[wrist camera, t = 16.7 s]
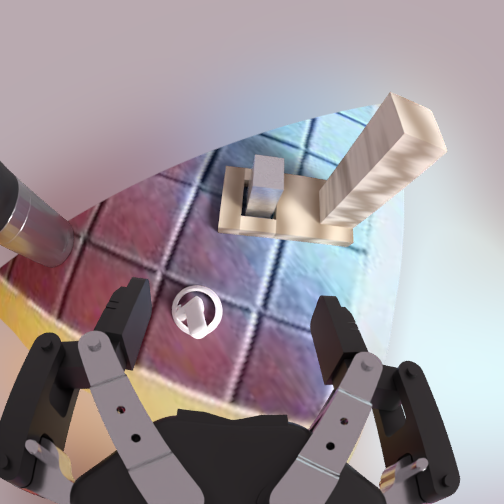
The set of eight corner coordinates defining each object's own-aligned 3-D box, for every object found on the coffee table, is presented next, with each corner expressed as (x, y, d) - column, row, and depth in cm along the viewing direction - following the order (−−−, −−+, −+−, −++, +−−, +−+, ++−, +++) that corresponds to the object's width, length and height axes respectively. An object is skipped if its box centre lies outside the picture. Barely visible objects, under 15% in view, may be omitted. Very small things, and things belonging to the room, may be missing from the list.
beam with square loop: (218, 232, 43) (221, 114, 18) (225, 173, 46) (237, 43, 21) (347, 246, 45) (454, 172, 20) (343, 190, 48) (424, 96, 23)
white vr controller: (205, 379, 32) (166, 352, 29) (190, 328, 43) (160, 302, 40) (249, 345, 33) (213, 314, 30) (224, 300, 43) (196, 271, 40)
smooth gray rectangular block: (244, 218, 44) (252, 185, 34) (246, 191, 46) (255, 154, 35) (268, 221, 45) (283, 190, 34) (270, 194, 46) (284, 158, 36)
